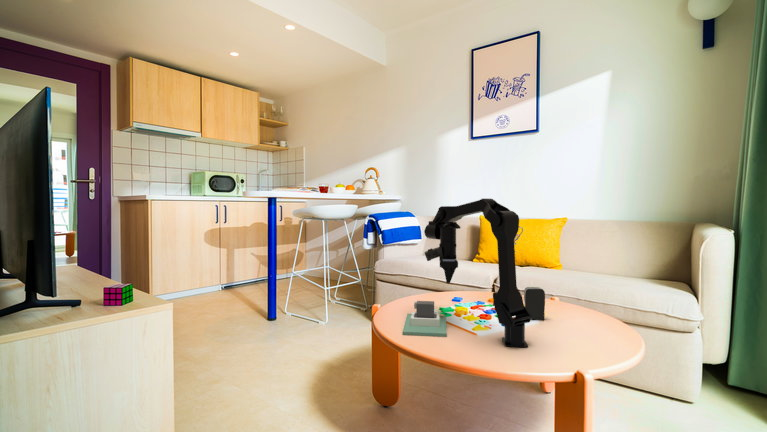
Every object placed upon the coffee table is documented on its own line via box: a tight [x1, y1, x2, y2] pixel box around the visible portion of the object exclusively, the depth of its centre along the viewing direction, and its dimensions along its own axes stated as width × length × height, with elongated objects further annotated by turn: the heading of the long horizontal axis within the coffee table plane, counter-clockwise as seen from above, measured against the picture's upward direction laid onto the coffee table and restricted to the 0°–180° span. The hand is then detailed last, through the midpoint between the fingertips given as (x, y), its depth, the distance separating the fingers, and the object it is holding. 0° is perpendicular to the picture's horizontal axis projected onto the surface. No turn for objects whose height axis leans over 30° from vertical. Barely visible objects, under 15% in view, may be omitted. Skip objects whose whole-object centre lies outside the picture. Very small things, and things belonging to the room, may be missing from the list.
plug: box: [413, 300, 435, 318], centre depth 128 cm, size 4×7×7 cm, turn 82°
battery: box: [523, 286, 546, 321], centre depth 135 cm, size 7×4×11 cm, turn 81°
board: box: [402, 311, 448, 338], centre depth 128 cm, size 20×14×4 cm
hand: (448, 283), depth 135 cm, fingers closed
